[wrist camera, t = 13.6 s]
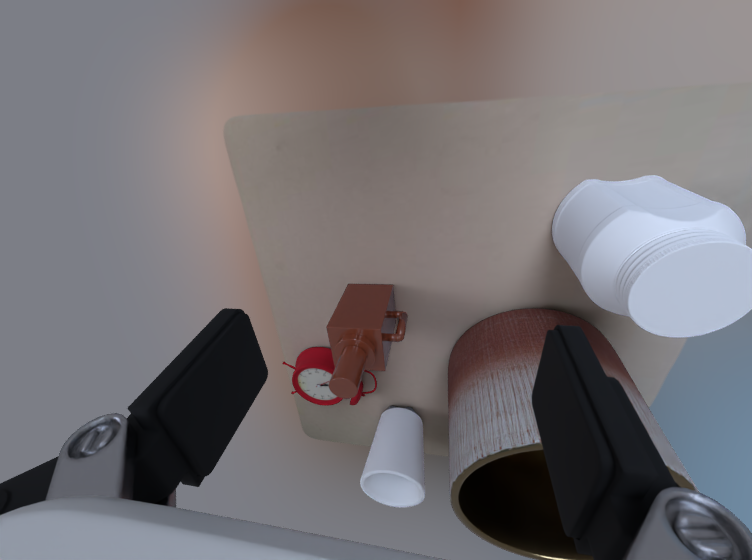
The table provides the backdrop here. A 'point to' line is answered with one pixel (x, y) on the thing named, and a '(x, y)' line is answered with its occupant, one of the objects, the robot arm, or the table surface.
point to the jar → (656, 254)
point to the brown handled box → (362, 334)
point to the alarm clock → (319, 377)
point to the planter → (519, 432)
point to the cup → (396, 460)
